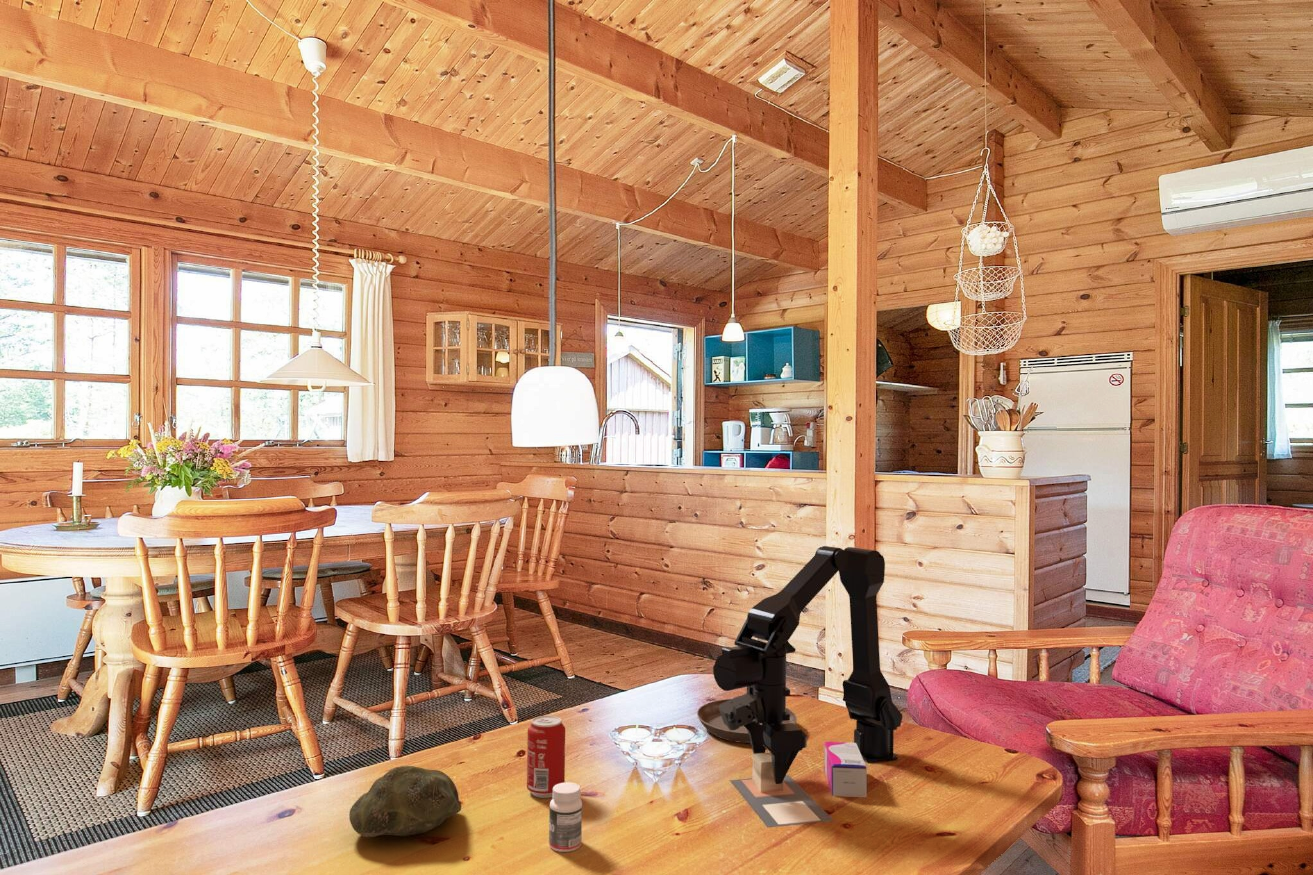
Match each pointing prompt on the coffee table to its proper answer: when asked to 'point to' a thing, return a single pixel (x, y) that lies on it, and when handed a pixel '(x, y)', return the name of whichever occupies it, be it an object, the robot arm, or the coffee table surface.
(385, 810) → the decorative rock
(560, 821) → the pill bottle
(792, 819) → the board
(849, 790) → the supplement box
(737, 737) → the plant saucer
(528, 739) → the beverage can
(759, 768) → the block
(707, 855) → the coffee table surface
